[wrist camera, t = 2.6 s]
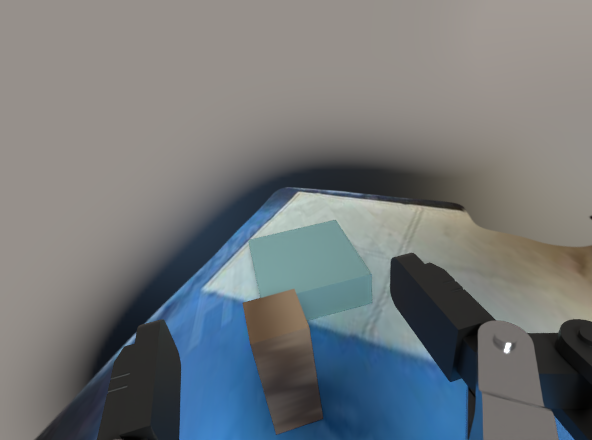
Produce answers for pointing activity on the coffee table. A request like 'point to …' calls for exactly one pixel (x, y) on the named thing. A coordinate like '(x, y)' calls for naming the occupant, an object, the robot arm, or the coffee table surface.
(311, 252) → the teal block
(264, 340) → the walnut pillar
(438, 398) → the coffee table surface
